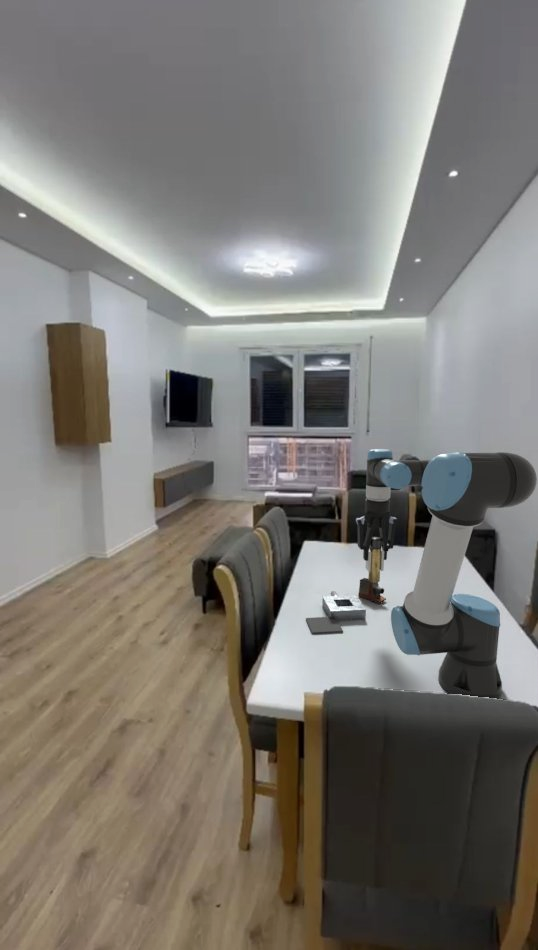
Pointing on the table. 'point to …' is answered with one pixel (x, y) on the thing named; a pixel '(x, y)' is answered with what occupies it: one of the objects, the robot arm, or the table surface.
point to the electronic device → (370, 591)
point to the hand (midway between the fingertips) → (374, 569)
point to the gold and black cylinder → (375, 559)
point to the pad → (323, 625)
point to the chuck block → (343, 607)
